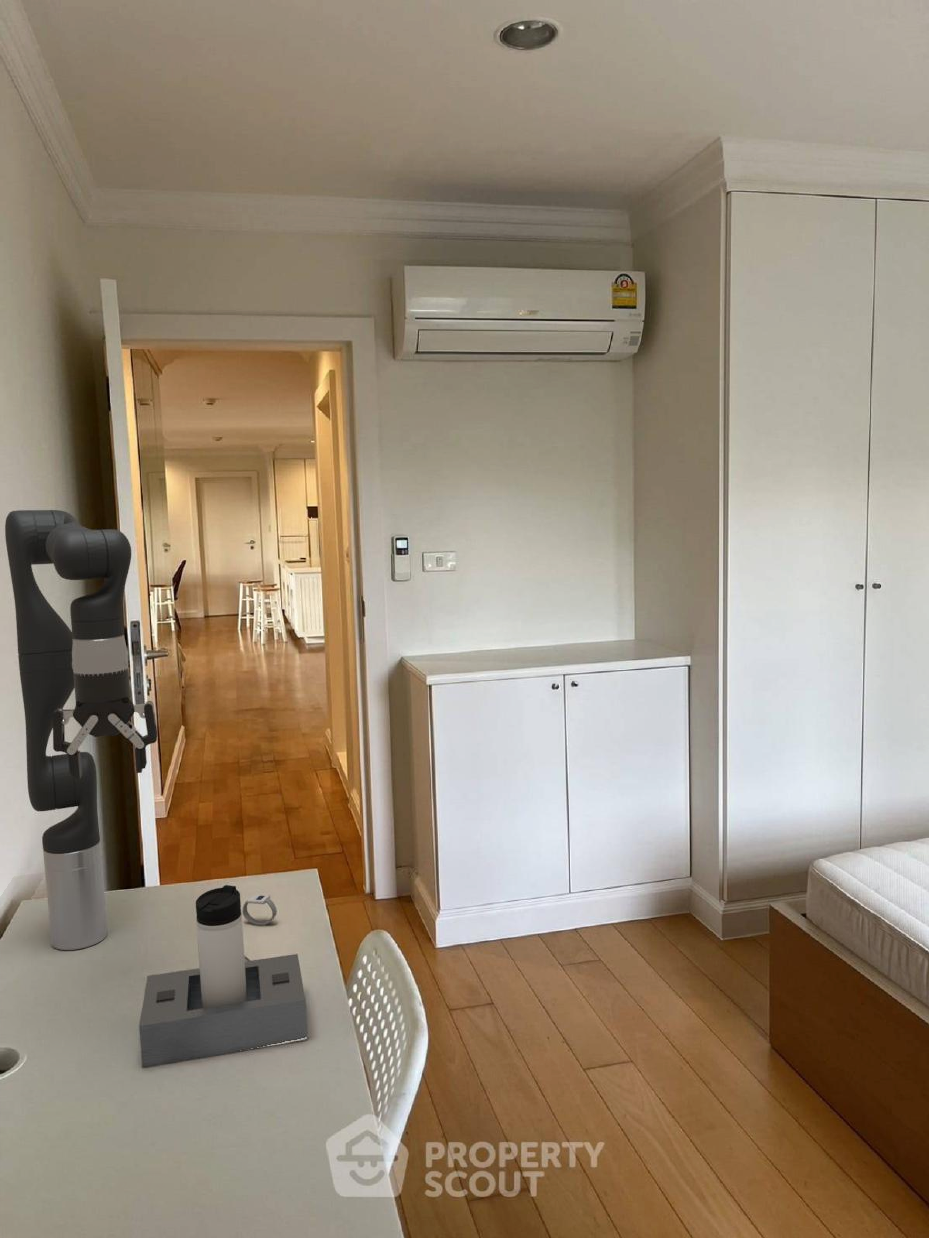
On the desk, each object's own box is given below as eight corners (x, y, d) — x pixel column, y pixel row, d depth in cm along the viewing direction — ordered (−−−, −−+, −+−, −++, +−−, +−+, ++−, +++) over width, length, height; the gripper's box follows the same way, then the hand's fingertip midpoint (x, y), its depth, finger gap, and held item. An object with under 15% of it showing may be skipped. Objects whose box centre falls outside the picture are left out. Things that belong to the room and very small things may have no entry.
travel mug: (258, 1017, 136) (250, 886, 134) (232, 1041, 130) (223, 905, 127) (221, 1010, 138) (213, 882, 136) (194, 1034, 132) (185, 900, 130)
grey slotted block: (150, 1013, 138) (147, 974, 137) (299, 990, 143) (297, 952, 142) (142, 1067, 124) (139, 1024, 124) (307, 1039, 130) (305, 998, 129)
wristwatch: (241, 925, 166) (239, 899, 166) (247, 919, 169) (246, 893, 168) (272, 928, 165) (271, 901, 164) (279, 921, 168) (277, 895, 167)
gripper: (153, 659, 141) (160, 763, 143) (52, 666, 137) (61, 772, 139) (150, 668, 133) (158, 777, 136) (43, 675, 130) (53, 787, 132)
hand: (109, 774), depth 137 cm, fingers open, 8 cm apart
